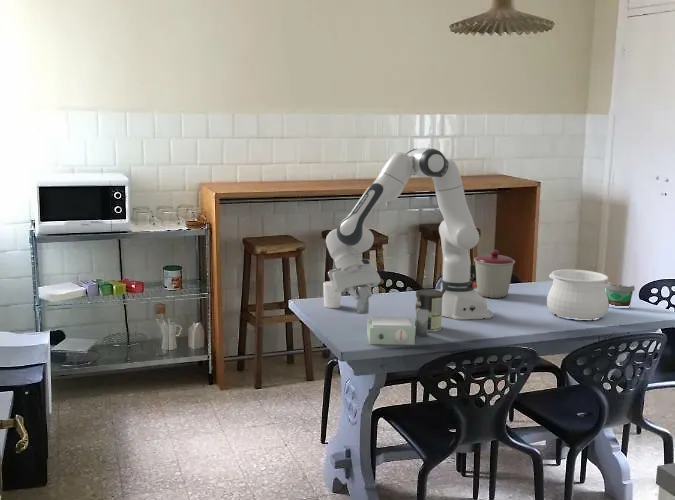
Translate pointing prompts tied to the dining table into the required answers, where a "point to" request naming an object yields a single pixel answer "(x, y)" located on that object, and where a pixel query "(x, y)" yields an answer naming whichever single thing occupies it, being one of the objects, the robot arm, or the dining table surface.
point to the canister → (493, 274)
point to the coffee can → (430, 307)
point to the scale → (390, 330)
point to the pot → (578, 294)
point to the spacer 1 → (363, 299)
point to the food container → (619, 295)
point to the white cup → (331, 296)
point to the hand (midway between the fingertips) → (363, 297)
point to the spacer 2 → (421, 322)
